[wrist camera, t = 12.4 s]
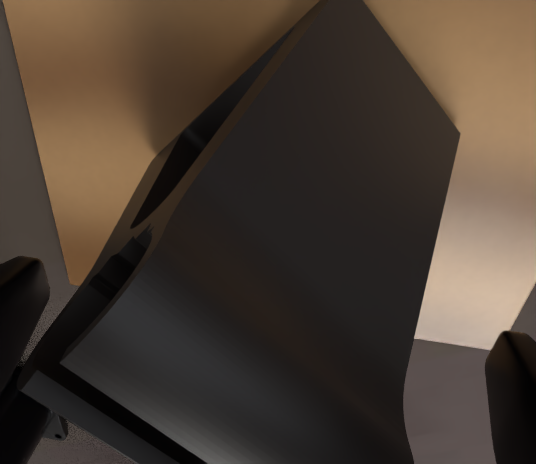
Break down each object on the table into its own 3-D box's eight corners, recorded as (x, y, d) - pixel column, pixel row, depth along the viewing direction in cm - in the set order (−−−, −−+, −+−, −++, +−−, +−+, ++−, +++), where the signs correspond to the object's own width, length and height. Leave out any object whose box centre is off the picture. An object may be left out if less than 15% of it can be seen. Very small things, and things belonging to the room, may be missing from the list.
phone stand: (261, 257, 19) (172, 606, 10) (153, 155, 17) (-96, 469, 8) (459, 129, 15) (651, 523, 5) (347, -26, 13) (338, 164, 3)
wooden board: (496, 345, 21) (498, 351, 21) (73, 279, 22) (69, 284, 22) (780, -187, 10) (794, -190, 10) (-46, -243, 12) (-58, -248, 12)
